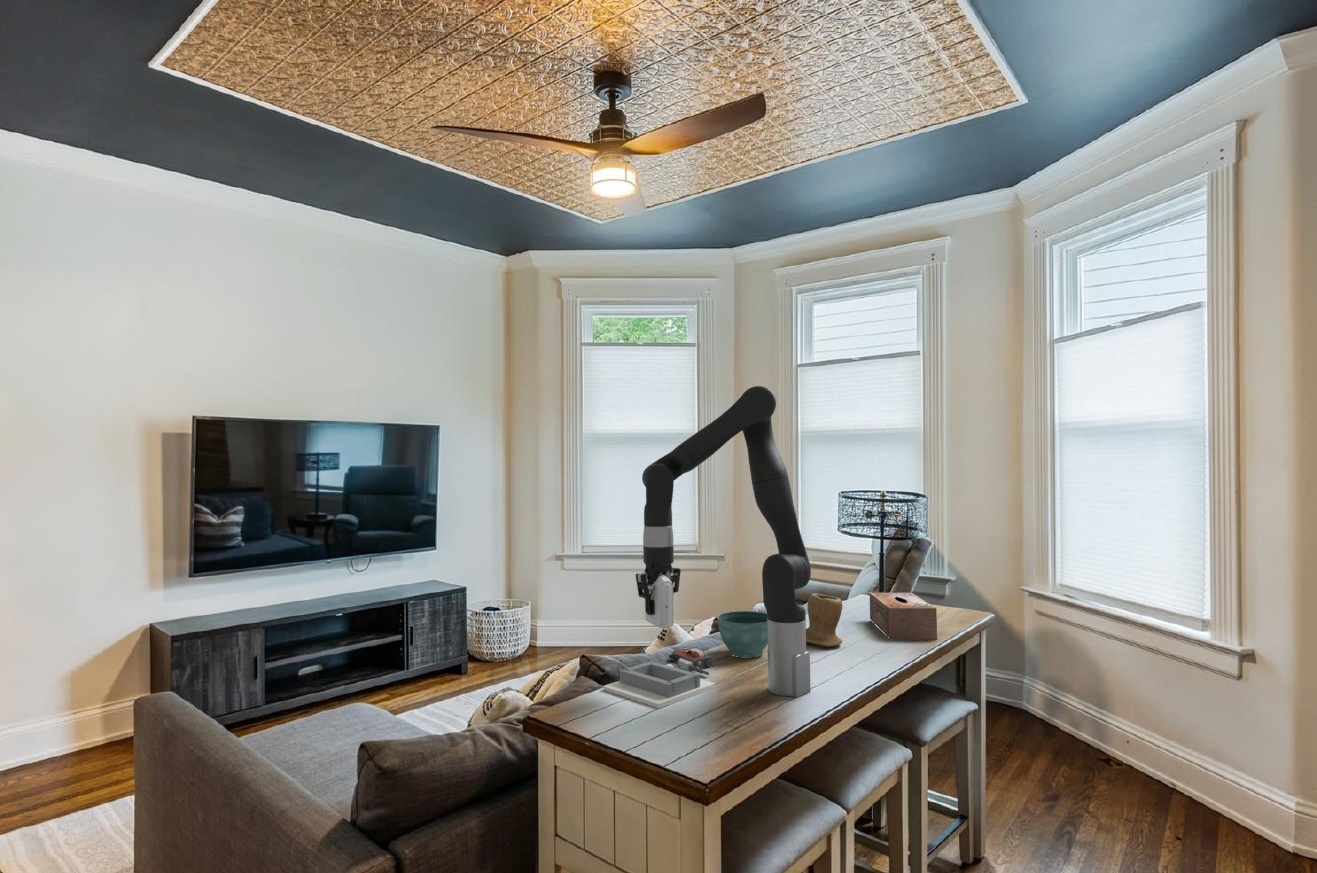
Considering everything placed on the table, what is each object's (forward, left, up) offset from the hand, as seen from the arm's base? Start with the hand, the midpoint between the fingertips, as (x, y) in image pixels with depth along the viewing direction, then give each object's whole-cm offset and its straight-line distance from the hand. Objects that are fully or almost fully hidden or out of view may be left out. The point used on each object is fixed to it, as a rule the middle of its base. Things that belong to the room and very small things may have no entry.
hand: (659, 612), depth 172 cm
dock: (0, 0, -19) cm, 19 cm away
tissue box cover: (-17, -97, -19) cm, 100 cm away
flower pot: (+3, -39, -19) cm, 43 cm away
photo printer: (0, 0, -3) cm, 3 cm away
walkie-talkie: (+6, -20, -19) cm, 29 cm away
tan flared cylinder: (-6, -64, -19) cm, 67 cm away
